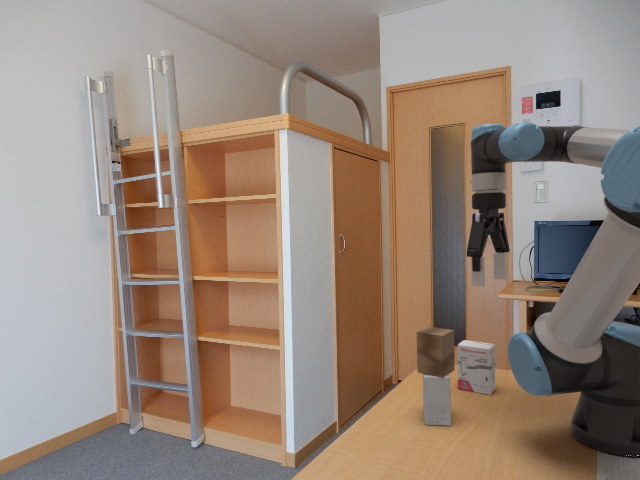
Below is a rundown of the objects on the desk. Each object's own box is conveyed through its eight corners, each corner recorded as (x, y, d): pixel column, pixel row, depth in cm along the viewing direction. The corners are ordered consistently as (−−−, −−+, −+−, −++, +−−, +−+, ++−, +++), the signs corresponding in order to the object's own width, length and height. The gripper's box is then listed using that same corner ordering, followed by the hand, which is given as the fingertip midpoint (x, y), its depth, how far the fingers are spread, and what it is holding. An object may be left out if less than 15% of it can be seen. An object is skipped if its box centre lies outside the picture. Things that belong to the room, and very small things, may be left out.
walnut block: (454, 370, 104) (454, 330, 104) (442, 377, 100) (442, 335, 99) (429, 365, 108) (429, 326, 108) (417, 372, 104) (416, 332, 103)
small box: (451, 426, 100) (450, 377, 99) (424, 425, 101) (423, 376, 100) (448, 411, 108) (447, 366, 107) (423, 410, 109) (422, 365, 108)
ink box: (456, 389, 122) (455, 343, 121) (462, 383, 126) (462, 339, 125) (490, 395, 117) (490, 348, 116) (496, 389, 121) (495, 343, 120)
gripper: (492, 194, 122) (493, 275, 123) (450, 191, 103) (451, 287, 104) (522, 192, 117) (522, 277, 118) (483, 189, 99) (484, 290, 99)
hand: (489, 282), depth 111 cm, fingers open, 13 cm apart
